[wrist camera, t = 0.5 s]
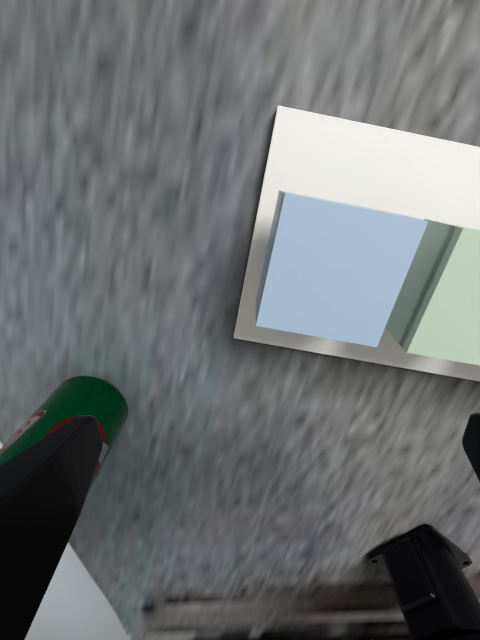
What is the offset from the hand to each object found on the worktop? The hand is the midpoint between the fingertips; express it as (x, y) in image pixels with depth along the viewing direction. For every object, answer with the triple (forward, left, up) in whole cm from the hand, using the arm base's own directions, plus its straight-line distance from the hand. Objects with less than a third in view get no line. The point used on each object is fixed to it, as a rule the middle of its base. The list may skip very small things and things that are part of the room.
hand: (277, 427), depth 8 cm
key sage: (-6, -7, -9) cm, 13 cm away
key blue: (-1, -3, -9) cm, 9 cm away
